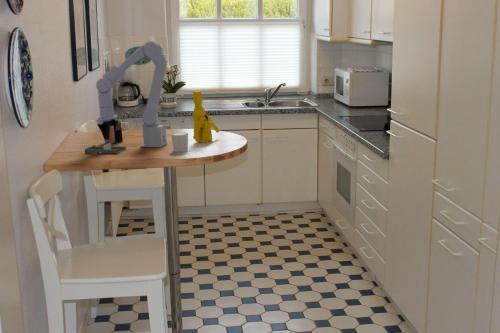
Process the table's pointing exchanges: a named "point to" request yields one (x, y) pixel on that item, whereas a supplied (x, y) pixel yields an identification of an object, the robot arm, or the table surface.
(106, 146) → the pusher plate
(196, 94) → the figure statuette
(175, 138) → the beige cylinder
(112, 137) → the jar
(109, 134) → the robot arm
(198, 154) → the table surface
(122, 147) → the frame
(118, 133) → the battery
